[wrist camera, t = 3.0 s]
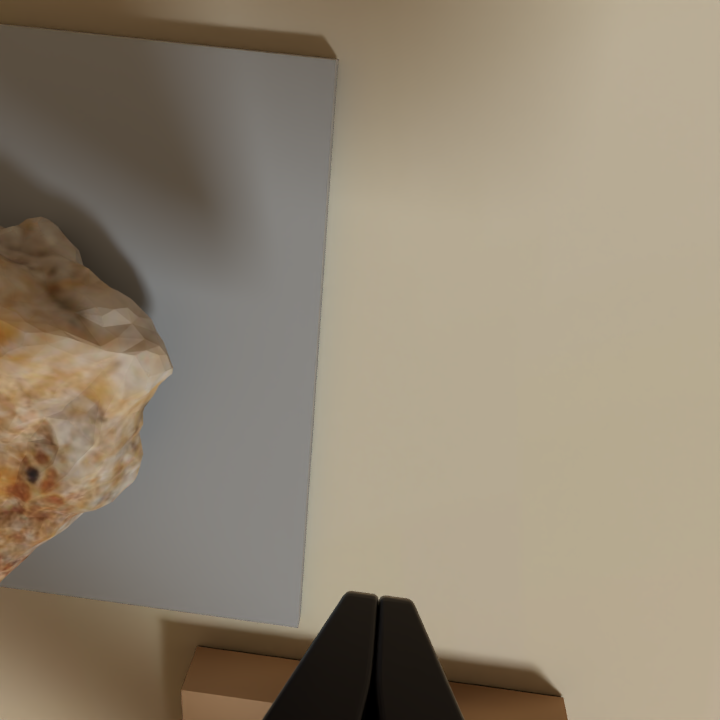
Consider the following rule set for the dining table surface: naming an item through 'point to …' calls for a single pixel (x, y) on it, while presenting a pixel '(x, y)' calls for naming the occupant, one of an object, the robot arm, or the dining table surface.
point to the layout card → (187, 298)
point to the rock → (66, 387)
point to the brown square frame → (269, 674)
